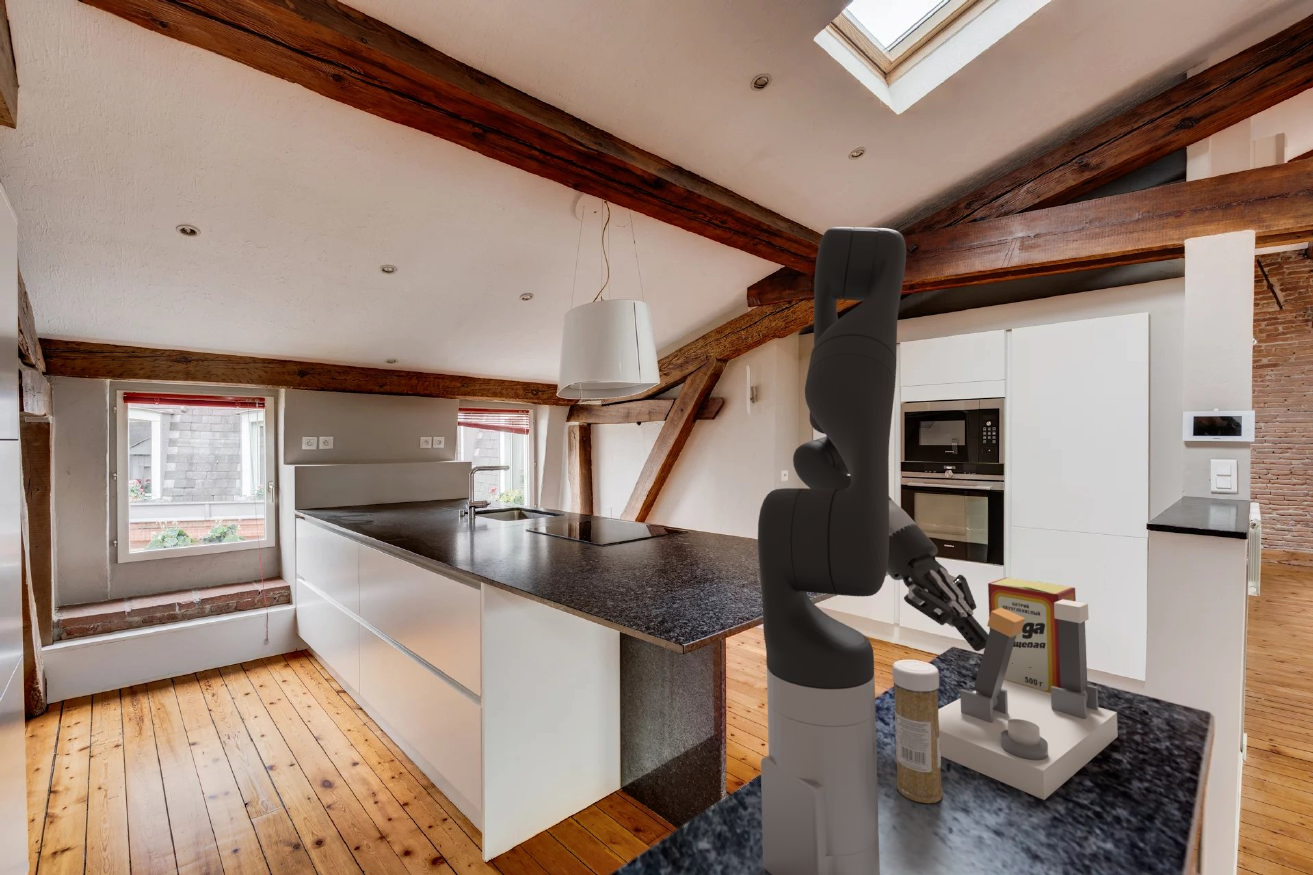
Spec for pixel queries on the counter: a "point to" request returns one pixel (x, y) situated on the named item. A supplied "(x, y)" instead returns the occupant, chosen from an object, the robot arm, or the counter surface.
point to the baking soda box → (1032, 629)
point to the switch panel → (1052, 729)
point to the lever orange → (997, 652)
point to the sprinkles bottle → (917, 730)
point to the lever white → (1072, 644)
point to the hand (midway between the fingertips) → (985, 646)
